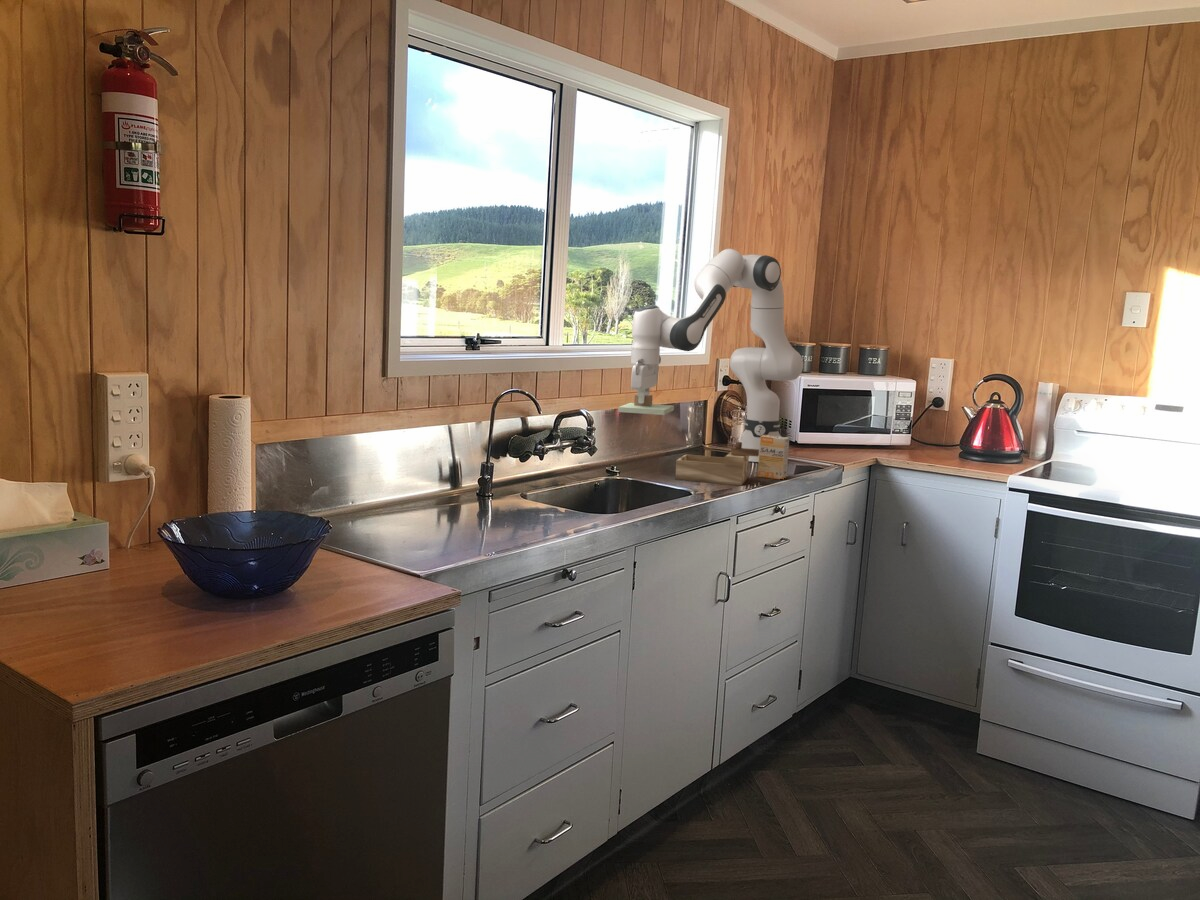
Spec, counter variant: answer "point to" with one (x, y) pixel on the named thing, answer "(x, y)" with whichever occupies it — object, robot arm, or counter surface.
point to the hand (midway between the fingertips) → (643, 402)
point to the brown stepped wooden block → (744, 450)
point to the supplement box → (773, 457)
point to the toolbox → (713, 469)
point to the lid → (646, 407)
